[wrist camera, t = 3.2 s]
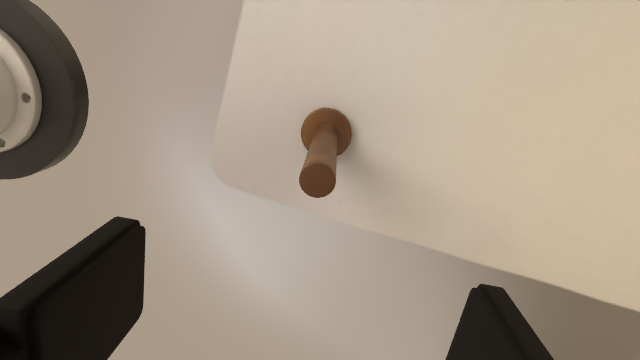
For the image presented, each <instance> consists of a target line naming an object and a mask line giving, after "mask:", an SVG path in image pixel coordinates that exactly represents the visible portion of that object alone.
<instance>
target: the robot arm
mask: <svg viewBox="0 0 640 360" xmlns="http://www.w3.org/2000/svg"><path fill="white" fill-rule="evenodd" d="M41 110H42V94H41V89H40V84H39V80H38V78H37V75H36V72H35V70H34V68H33V66H32V64H31V62H30V60H29V59H28V57H27V55H26V54H25V53H24V51H23V50H22V49H21V48H20V46H19V45H18V44H17V43H16V42H15V41H14V40H13V39H12V38H11V37H10V36H9V35H8V34H7V33H6V32H4V31H3V30H1V29H0V152H3V151H7V150H11V149H13V148H15V147H17V146H20V145H21V144H22V143H24V142H25V141H26V140H27V139H29V138H30V136H31V135H32V134H33V132H34V131H35V129H36V127H37V125H38V122H39V120H40V115H41ZM144 262H145V228H144V227H143V226H140V222H139V221H138V220H134V219H128V218H123V217H115V218H113V219H111V220H110V221H109V222H107V223H106V224H104V225H103V226H102V227H100V228H99V229H97V230H96V231H94V232H93V233H92V234H90V235H89V236H87V237H86V238H84V239H83V240H82V241H80V242H79V243H78V244H76V245H75V246H74V247H72V248H70V249H69V250H68V251H66V252H65V253H63V254H62V255H60V256H59V257H58V258H56V259H55V260H53V261H52V262H50V263H49V264H48V265H46V266H45V267H44V268H42V269H41V270H39V271H38V272H37V273H35V274H33V275H32V276H31V277H29V278H28V279H27V280H25V281H24V282H22V283H21V284H19V285H18V286H16V287H15V288H14V289H12V290H11V291H10V292H8V293H7V294H5V295H4V296H2V297H1V298H0V360H107V359H108V358H109V357H110V355H111V354H112V353H113V351H114V350H115V349H116V347H117V346H118V345H119V344H120V342H121V341H122V340H123V338H124V337H125V336H126V335H127V333H128V332H129V331H130V329H131V328H132V327H133V325H134V324H135V323H136V322H137V320H138V319H139V317H140V315H141V313H142V309H143V293H144ZM446 360H554V359H553V358H552V356H551V355H550V353H549V352H548V351H547V349H546V348H545V347H544V345H543V344H542V342H541V341H540V339H539V338H538V337H537V335H536V334H535V332H534V331H533V330H532V328H531V327H530V325H529V324H528V322H527V321H526V320H525V318H524V317H523V315H522V314H521V312H520V311H519V310H518V308H517V307H516V306H515V304H514V303H513V301H512V300H511V298H510V297H509V296H508V294H507V293H506V291H505V290H504V289H503V288H501V287H496V286H491V285H485V284H480V285H479V286H478V287H477V288H472V289H471V291H470V293H469V296H468V299H467V302H466V305H465V308H464V310H463V313H462V316H461V318H460V322H459V324H458V327H457V330H456V332H455V335H454V338H453V341H452V343H451V346H450V349H449V352H448V355H447V357H446Z"/></svg>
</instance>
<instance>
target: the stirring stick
mask: <svg viewBox="0 0 640 360" xmlns="http://www.w3.org/2000/svg"><path fill="white" fill-rule="evenodd" d="M301 138H302V142H303V144H304V146H305V148H306V149H307V150H308V153H307V156H306V159H305V162H304V165H303V168H302V170H301V173H300V177H299V183H300V186H301V188H302V190H303V191H304V192H305V193H306V194H307V195H309V196H311V197H315V198H320V197H324V196H327V195H328V194H330V193H331V192H332V191H333V189H334V187H335V184H336V164H337V156H338V155H340V154H342V153H343V152H344V151H345V150H346V149H347V147H348V145H349V143H350V140H351V127H350V124H349V121H348V120H347V118H346V117H345V116H344V115H343V114H342V113H341V112H339V111H338V110H335V109H332V108H321V109H318V110H315V111H314V112H312V113H311V114H310V115H309V116H308V117H307V118H306V119H305V121H304V123H303V126H302V129H301Z"/></svg>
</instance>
